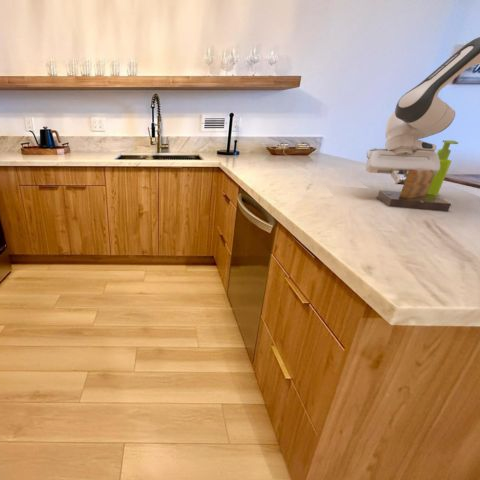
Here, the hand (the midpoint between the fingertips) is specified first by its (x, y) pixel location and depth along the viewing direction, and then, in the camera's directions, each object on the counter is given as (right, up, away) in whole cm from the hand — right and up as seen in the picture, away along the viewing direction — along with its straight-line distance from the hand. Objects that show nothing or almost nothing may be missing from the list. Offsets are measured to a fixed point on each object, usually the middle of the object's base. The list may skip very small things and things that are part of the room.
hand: (401, 183), depth 97 cm
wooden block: (+5, -4, +1) cm, 6 cm away
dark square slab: (+5, -7, +2) cm, 9 cm away
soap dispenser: (+22, -2, +14) cm, 26 cm away
